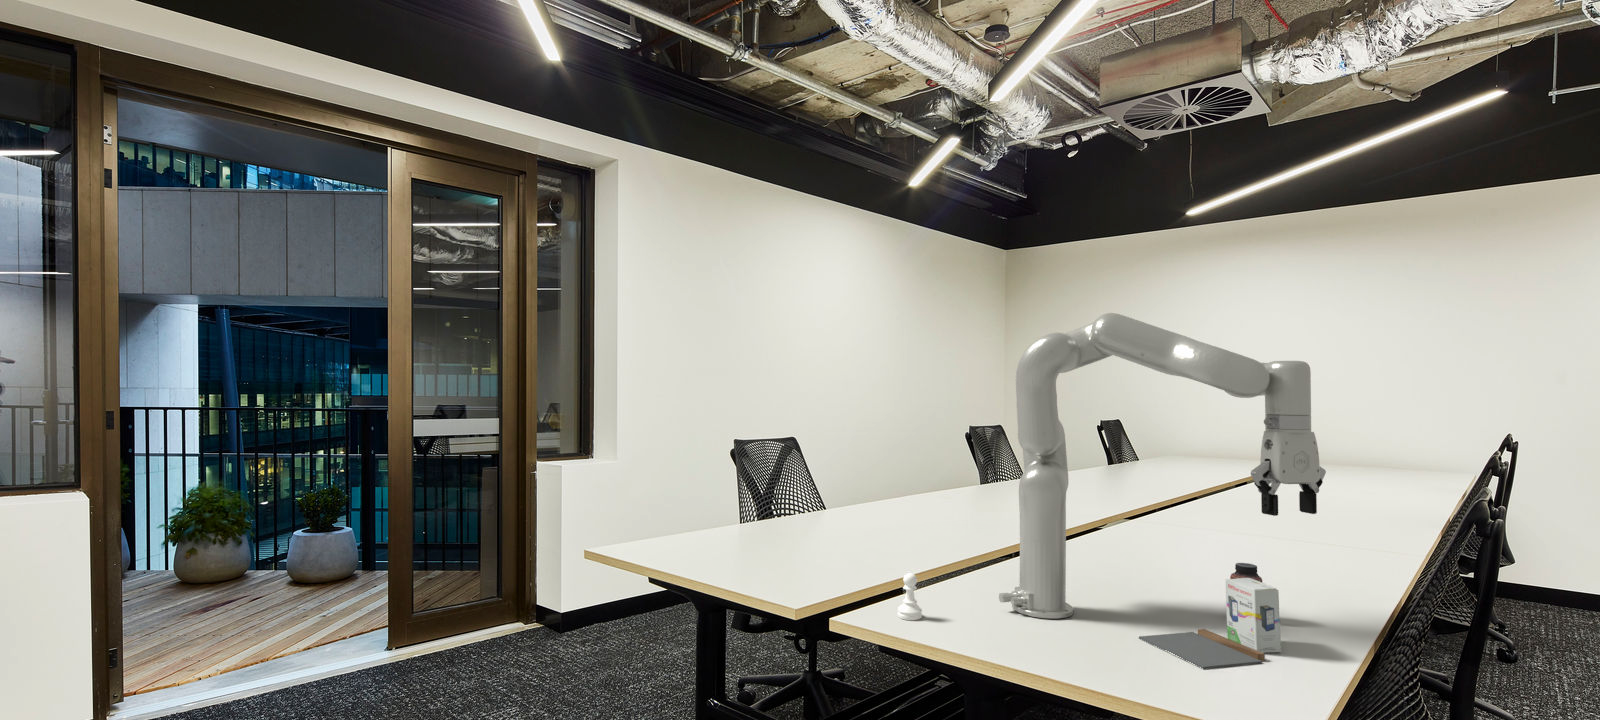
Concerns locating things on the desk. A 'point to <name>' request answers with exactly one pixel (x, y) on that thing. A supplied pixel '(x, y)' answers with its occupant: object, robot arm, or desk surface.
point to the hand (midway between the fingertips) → (1289, 513)
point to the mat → (1200, 650)
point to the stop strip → (1232, 644)
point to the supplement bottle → (1246, 572)
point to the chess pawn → (909, 600)
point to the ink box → (1253, 614)
